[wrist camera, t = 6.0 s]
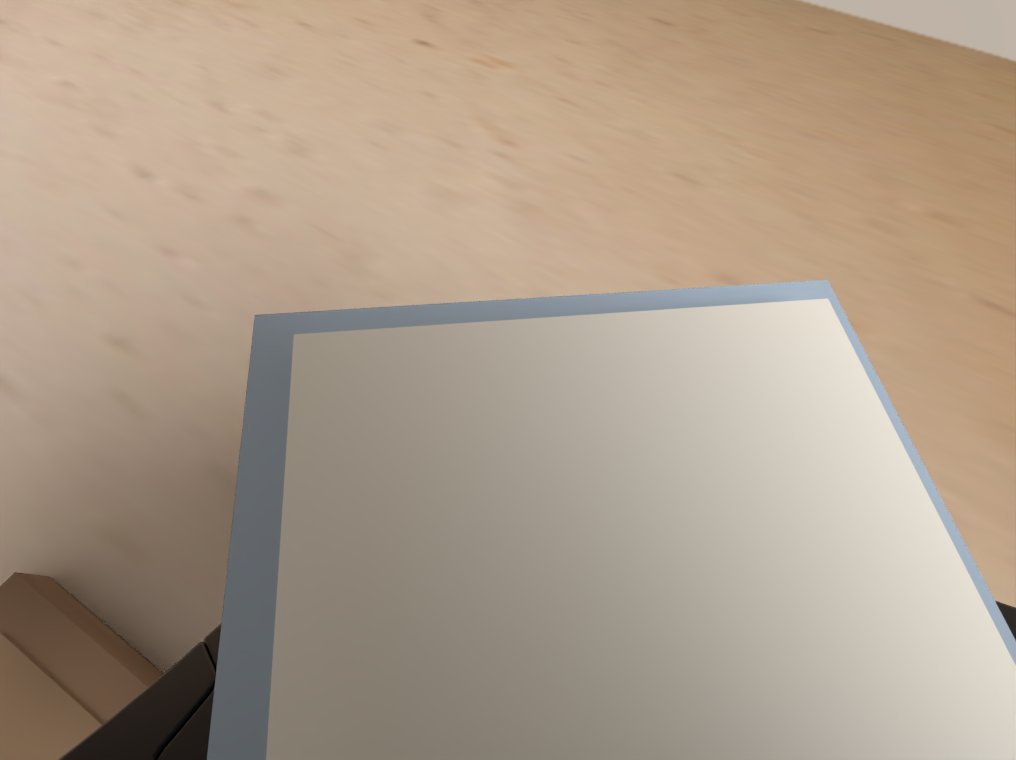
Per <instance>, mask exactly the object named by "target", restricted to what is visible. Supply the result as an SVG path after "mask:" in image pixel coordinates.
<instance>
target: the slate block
mask: <svg viewBox="0 0 1016 760" xmlns="http://www.w3.org/2000/svg"><path fill="white" fill-rule="evenodd" d="M207 760H1016V640H1015V638H1014V636H1013V635H1012V633H1011V631H1010V629H1009V627H1008V625H1007V623H1006V621H1005V619H1004V617H1003V615H1002V613H1001V612H1000V610H999V608H998V606H997V604H996V602H995V600H994V598H993V596H992V594H991V592H990V590H989V589H988V587H987V585H986V583H985V581H984V579H983V577H982V575H981V573H980V571H979V569H978V567H977V565H976V564H975V562H974V560H973V558H972V556H971V554H970V552H969V550H968V548H967V546H966V544H965V542H964V541H963V539H962V537H961V535H960V533H959V531H958V529H957V527H956V525H955V523H954V521H953V519H952V518H951V516H950V514H949V512H948V510H947V508H946V506H945V504H944V502H943V500H942V498H941V496H940V495H939V493H938V491H937V489H936V487H935V485H934V483H933V481H932V479H931V477H930V475H929V473H928V471H927V470H926V468H925V466H924V464H923V462H922V460H921V458H920V456H919V454H918V452H917V450H916V448H915V447H914V445H913V443H912V441H911V439H910V437H909V435H908V433H907V431H906V429H905V427H904V425H903V424H902V422H901V420H900V418H899V416H898V414H897V412H896V410H895V408H894V406H893V404H892V402H891V401H890V399H889V397H888V395H887V393H886V391H885V389H884V387H883V385H882V383H881V381H880V379H879V377H878V376H877V374H876V372H875V370H874V368H873V366H872V364H871V362H870V360H869V358H868V356H867V354H866V353H865V351H864V349H863V347H862V345H861V343H860V341H859V339H858V337H857V335H856V333H855V331H854V330H853V328H852V326H851V324H850V322H849V320H848V318H847V316H846V314H845V312H844V310H843V308H842V307H841V305H840V303H839V301H838V299H837V297H836V295H835V293H834V291H833V289H832V287H831V285H830V283H829V282H828V280H818V281H801V282H785V283H769V284H753V285H736V286H720V287H704V288H688V289H671V290H655V291H639V292H622V293H606V294H590V295H574V296H557V297H541V298H525V299H509V300H492V301H476V302H460V303H444V304H427V305H411V306H395V307H378V308H362V309H346V310H330V311H313V312H297V313H281V314H265V315H255V318H254V327H253V336H252V346H251V355H250V364H249V373H248V383H247V392H246V401H245V410H244V420H243V429H242V438H241V447H240V457H239V466H238V475H237V484H236V494H235V503H234V512H233V521H232V531H231V540H230V549H229V558H228V568H227V577H226V586H225V596H224V605H223V614H222V623H221V633H220V642H219V651H218V660H217V670H216V679H215V688H214V697H213V707H212V716H211V725H210V734H209V744H208V753H207Z"/></svg>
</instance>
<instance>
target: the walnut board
mask: <svg viewBox="0 0 1016 760" xmlns="http://www.w3.org/2000/svg"><path fill="white" fill-rule="evenodd" d="M162 675H163V673H162V672H161V671H159V670H158V669H157V668H156V667H155V666H154V665H152V664H151V663H150V662H149V661H148V660H147V659H145V658H144V657H143V656H142V655H141V654H140V653H138V652H137V651H136V650H135V649H134V648H132V647H131V646H130V645H129V644H128V643H127V642H125V641H124V640H123V639H122V638H121V637H120V636H118V635H117V634H116V633H115V632H114V631H113V630H111V629H110V628H109V627H108V626H107V625H106V624H104V623H103V622H102V621H101V620H100V619H98V618H97V617H96V616H95V615H94V614H93V613H91V612H90V611H89V610H88V609H87V608H86V607H84V606H83V605H82V604H81V603H80V602H79V601H77V600H76V599H75V598H74V597H73V596H72V595H70V594H69V593H68V592H67V591H66V590H65V589H63V588H62V587H61V586H60V585H59V584H57V583H56V582H55V581H54V580H53V579H52V578H50V577H46V576H39V575H31V574H23V573H16V572H15V573H14V574H13V575H12V576H11V577H10V578H9V579H8V580H7V581H6V582H5V583H4V584H2V585H1V586H0V760H58V759H60V758H61V757H62V756H63V755H65V754H66V753H67V752H69V751H70V750H71V749H72V748H74V747H75V746H76V745H78V744H79V743H80V742H81V741H83V740H84V739H85V738H86V737H88V736H89V735H90V734H92V733H93V732H94V731H95V730H97V729H98V728H99V727H100V726H102V725H103V724H104V723H105V722H107V721H108V720H109V719H110V718H111V717H113V716H114V715H115V714H116V713H118V712H119V711H120V710H121V709H123V708H124V707H125V706H126V705H128V704H129V703H130V702H131V701H133V700H134V699H135V698H136V697H137V696H139V695H140V694H141V693H142V692H144V691H145V690H146V689H147V688H148V687H149V686H151V685H152V684H153V683H154V682H155V681H156V680H157V679H159V678H160V677H161V676H162Z"/></svg>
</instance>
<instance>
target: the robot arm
mask: <svg viewBox="0 0 1016 760" xmlns="http://www.w3.org/2000/svg"><path fill="white" fill-rule="evenodd" d="M995 602H996V604H997V606H998V608H999V610H1000V612H1001V613H1002V615H1003V617H1004V619H1005V621H1006V623H1007V625H1008V627H1009V629H1010V631H1011V633H1012V635H1013V636H1014V638H1015V640H1016V608H1015V607H1012V606H1009V605H1006V604H1003V603H1000V602H997V601H995ZM220 633H221V624H220V625H219V626H218V627H216V628H215V629H214V630H213V631H212V632H211V633H210V634H209V635H208V636H206V637H205V638H204V643H203V642H200V643H198V644H197V645H196V646H195V647H194V648H193V649H192V650H191V651H189V652H188V653H187V654H186V655H185V656H184V657H183V658H182V659H181V660H179V661H178V662H177V663H176V664H175V665H174V666H173V667H171V668H170V669H169V670H168V671H167V672H166V673H164V674H163V675H162V676H161V677H160V678H159V679H157V680H156V681H155V682H154V683H153V684H152V685H151V686H149V687H148V688H147V689H146V690H145V691H144V692H142V693H141V694H140V695H139V696H137V697H136V698H135V699H134V700H133V701H131V702H130V703H129V704H128V705H126V706H125V707H124V708H123V709H121V710H120V711H119V712H118V713H116V714H115V715H114V716H113V717H111V718H110V719H109V720H108V721H107V722H105V723H104V724H103V725H102V726H100V727H99V728H98V729H97V730H95V731H94V732H93V733H92V734H90V735H89V736H88V737H86V738H85V739H84V740H83V741H81V742H80V743H79V744H78V745H76V746H75V747H74V748H72V749H71V750H70V751H69V752H67V753H66V754H65V755H63V756H62V757H61V758H60V759H58V760H207V753H208V744H209V734H210V725H211V716H212V707H213V697H214V688H215V679H216V670H217V660H218V651H219V642H220Z"/></svg>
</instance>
